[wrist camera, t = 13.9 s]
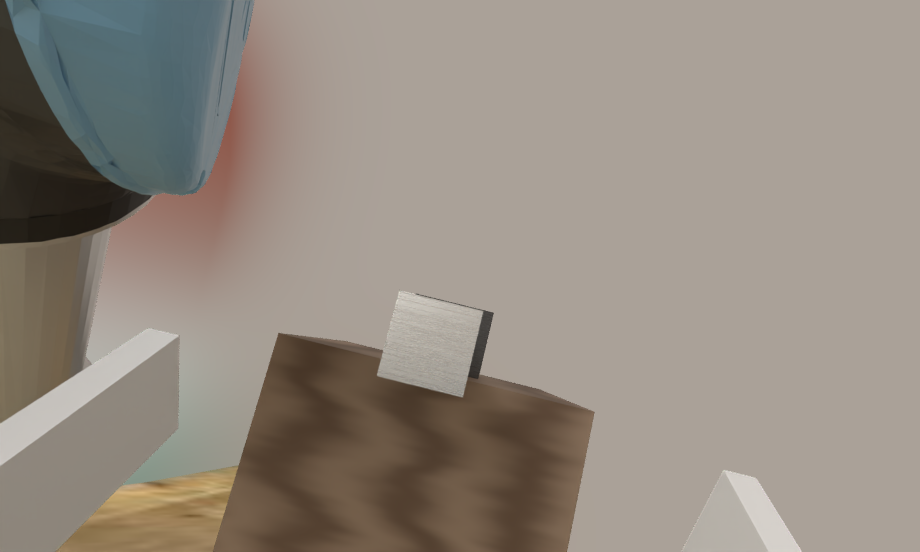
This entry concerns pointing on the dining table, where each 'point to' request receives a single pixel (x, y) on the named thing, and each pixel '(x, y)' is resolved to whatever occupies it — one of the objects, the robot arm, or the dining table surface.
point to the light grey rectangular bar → (434, 343)
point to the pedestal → (400, 461)
